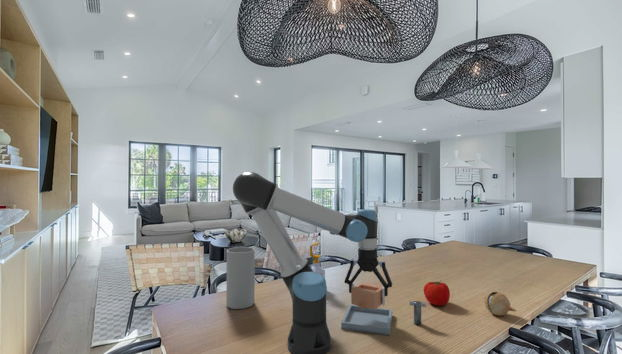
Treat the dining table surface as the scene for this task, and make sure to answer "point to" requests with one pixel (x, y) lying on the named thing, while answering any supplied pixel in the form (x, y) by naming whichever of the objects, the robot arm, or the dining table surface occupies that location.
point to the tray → (367, 320)
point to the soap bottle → (316, 263)
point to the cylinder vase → (240, 277)
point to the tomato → (437, 293)
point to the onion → (498, 304)
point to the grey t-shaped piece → (417, 311)
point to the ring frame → (367, 296)
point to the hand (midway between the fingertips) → (368, 302)
